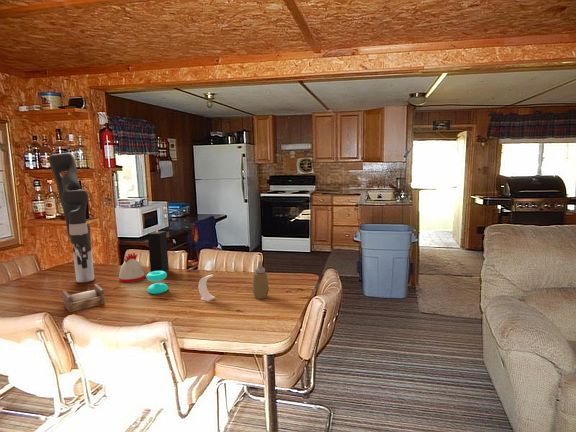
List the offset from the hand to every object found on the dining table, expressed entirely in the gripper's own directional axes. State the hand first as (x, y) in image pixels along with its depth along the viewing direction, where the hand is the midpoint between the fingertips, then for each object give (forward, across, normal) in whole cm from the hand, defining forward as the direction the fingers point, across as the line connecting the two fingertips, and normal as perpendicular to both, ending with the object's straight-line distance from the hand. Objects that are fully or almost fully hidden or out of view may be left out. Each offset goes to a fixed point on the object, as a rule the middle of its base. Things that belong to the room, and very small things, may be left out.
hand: (82, 266), depth 177 cm
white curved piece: (+18, +36, +45) cm, 60 cm away
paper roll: (+17, +1, -1) cm, 17 cm away
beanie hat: (+19, -25, +30) cm, 43 cm away
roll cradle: (+18, +1, -1) cm, 18 cm away
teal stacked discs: (+19, +8, +32) cm, 38 cm away
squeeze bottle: (+18, +53, +65) cm, 86 cm away
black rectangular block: (+19, -26, +47) cm, 57 cm away
